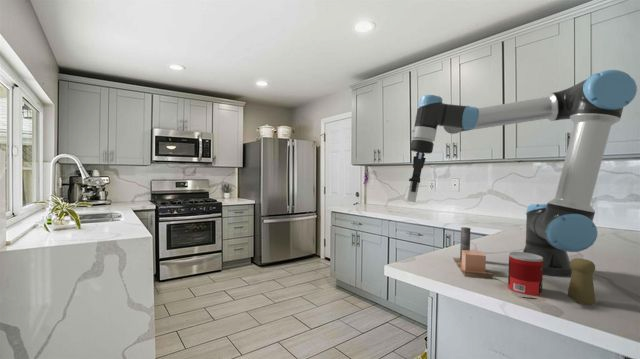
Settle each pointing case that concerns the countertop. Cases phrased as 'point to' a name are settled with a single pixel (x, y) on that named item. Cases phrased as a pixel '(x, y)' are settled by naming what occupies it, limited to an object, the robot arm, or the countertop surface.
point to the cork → (582, 282)
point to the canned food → (525, 273)
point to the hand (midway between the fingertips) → (411, 200)
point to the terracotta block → (473, 261)
